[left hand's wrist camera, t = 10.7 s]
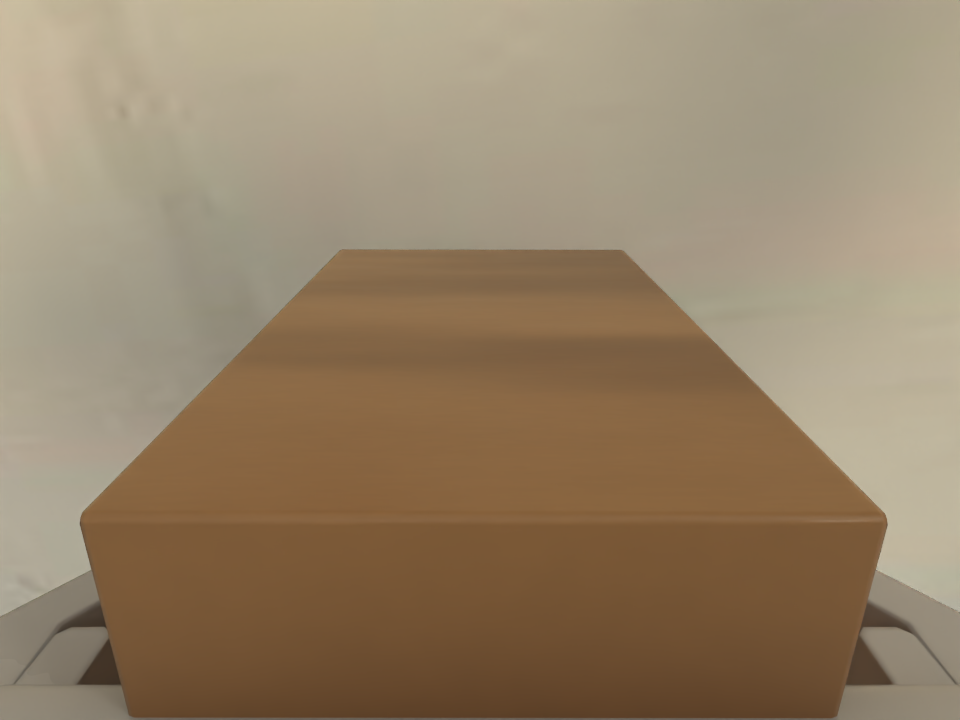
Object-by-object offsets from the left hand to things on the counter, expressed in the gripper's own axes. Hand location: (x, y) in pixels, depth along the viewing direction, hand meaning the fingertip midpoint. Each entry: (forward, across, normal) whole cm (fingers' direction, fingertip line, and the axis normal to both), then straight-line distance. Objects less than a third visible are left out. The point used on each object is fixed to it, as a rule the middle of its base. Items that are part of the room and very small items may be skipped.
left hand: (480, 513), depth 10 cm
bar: (+3, 0, +9) cm, 9 cm away
